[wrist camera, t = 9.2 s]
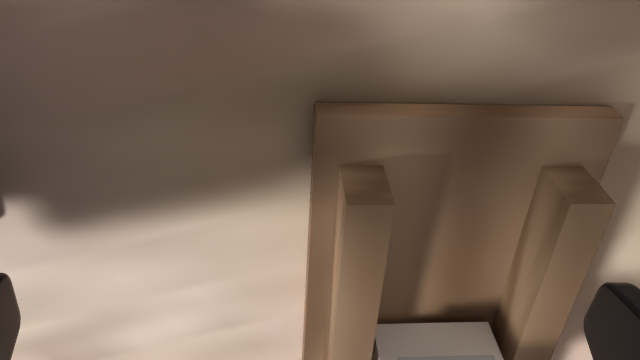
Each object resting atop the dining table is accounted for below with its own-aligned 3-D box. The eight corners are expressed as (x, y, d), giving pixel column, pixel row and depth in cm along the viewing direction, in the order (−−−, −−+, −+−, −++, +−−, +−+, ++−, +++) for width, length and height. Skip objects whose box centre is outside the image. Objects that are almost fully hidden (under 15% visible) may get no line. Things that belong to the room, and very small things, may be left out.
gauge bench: (297, 453, 32) (300, 539, 28) (315, 102, 20) (325, 171, 16) (484, 445, 33) (511, 527, 29) (610, 106, 21) (684, 172, 17)
